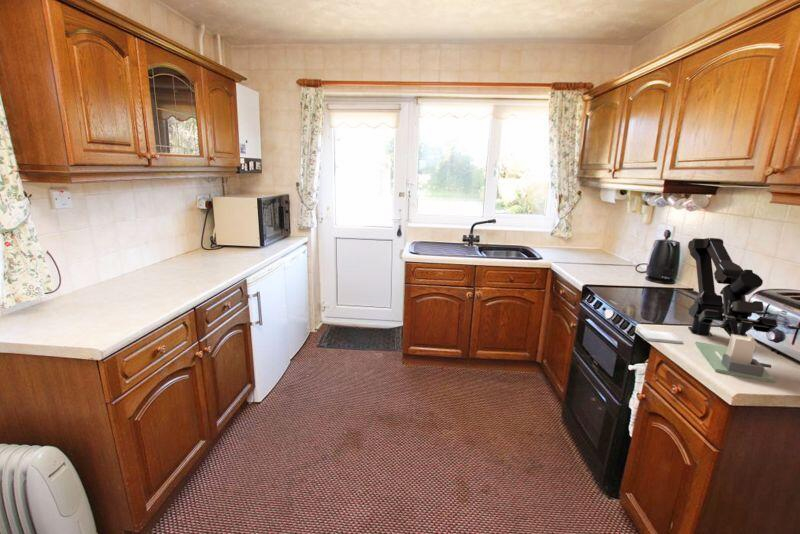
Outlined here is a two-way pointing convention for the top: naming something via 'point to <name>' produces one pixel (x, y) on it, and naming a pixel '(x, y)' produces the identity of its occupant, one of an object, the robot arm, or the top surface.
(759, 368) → the header
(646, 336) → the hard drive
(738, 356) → the plug
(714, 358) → the board
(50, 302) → the top surface
